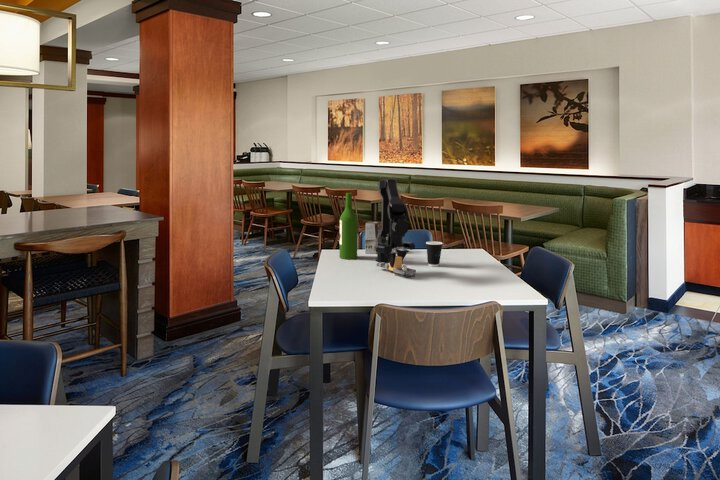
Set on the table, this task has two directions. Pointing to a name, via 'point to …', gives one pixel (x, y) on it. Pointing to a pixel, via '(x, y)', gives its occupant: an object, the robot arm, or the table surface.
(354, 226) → the wine bottle
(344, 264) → the table surface
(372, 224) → the coffee box
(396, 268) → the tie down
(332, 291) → the table surface
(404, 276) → the keeper
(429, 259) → the dixie cup
